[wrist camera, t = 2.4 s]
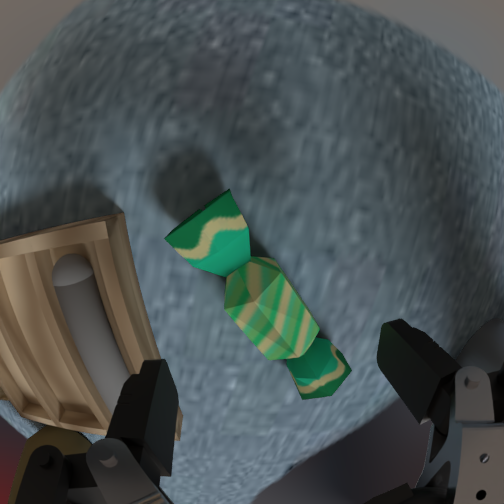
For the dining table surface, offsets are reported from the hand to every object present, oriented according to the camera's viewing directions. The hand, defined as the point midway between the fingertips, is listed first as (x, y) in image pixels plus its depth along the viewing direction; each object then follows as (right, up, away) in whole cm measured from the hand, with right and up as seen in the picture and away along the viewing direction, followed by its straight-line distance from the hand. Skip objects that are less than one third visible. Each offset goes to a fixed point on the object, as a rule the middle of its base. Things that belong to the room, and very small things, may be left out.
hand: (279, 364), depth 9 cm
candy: (0, +2, +7) cm, 7 cm away
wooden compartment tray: (-15, -2, +6) cm, 16 cm away
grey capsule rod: (-10, -2, +5) cm, 11 cm away
